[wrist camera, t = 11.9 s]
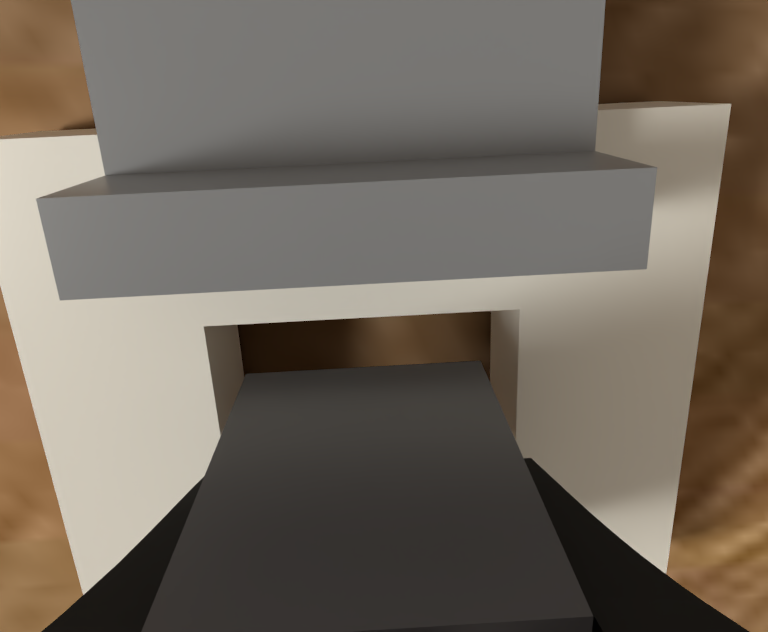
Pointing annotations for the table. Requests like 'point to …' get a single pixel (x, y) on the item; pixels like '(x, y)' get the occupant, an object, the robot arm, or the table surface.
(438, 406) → the plug
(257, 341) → the table surface
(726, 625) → the robot arm
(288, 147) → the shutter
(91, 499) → the socket plate
